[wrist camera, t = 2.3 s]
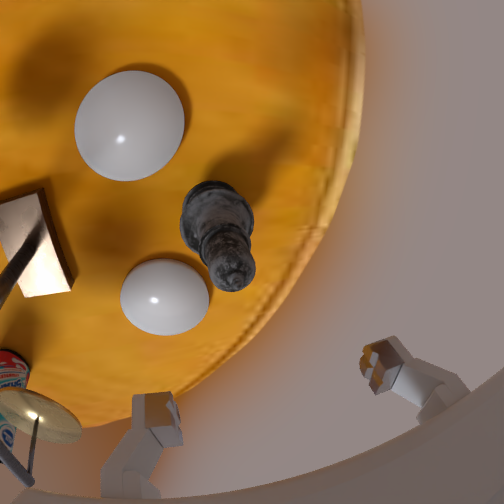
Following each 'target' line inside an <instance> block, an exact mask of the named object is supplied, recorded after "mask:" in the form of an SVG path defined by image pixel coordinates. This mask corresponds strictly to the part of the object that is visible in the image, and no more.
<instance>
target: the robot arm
mask: <svg viewBox="0 0 504 504" xmlns="http://www.w3.org/2000/svg"><path fill="white" fill-rule="evenodd" d="M363 353H364V355H363V356H362V357H361V358H360V362H359V365H360V370H361V373H362V375H363V376H364V378H367V379H369V386H370V387H371V389H372V391H373V392H374V394H375V395H378V394H380V393H383V392H385V391H388V390H390V389H391V390H392V391H394V392H395V393H397V394H399V395H400V396H402V397H404V398H405V399H407V400H409V401H410V402H412V403H414V404H416V405H417V406H419V407H421V408H422V409H421V410H420V412H419V413H418V415H417V417H416V418H417V420H418V422H419V423H420V425H418V426H417V427H415V428H413V429H411V430H409V431H407V432H406V433H403V434H402V435H400V436H398V437H396V438H394V439H392V440H389V441H388V442H385V443H383V444H381V445H379V446H377V447H375V448H372V449H370V450H368V451H365V452H363V453H361V454H359V455H356V456H353V457H351V458H348V459H346V460H343V461H341V462H338V463H335V464H333V465H330V466H327V467H324V468H321V469H318V470H315V471H312V472H309V473H306V474H302V475H299V476H296V477H292V478H288V479H285V480H281V481H277V482H273V483H269V484H265V485H260V486H256V487H251V488H246V489H241V490H235V491H230V492H224V493H217V494H209V495H201V496H193V497H181V498H168V499H167V498H166V499H161V495H160V490H159V489H157V488H156V487H155V486H154V485H153V484H151V483H150V482H149V481H148V479H149V478H150V475H151V474H152V472H153V470H154V468H155V466H156V464H157V462H158V459H159V457H160V455H161V453H162V452H163V448H167V447H175V446H182V445H183V438H182V431H181V429H180V428H179V424H180V423H181V421H180V415H179V410H178V407H177V404H176V402H175V401H173V395H172V393H171V391H168V392H158V393H147V394H136V395H133V398H132V429H131V430H128V431H127V432H126V434H125V435H124V437H123V438H122V440H121V441H120V443H119V444H118V445H117V447H116V448H115V450H114V451H113V453H112V454H111V455H110V457H109V458H108V460H107V461H106V463H105V464H104V466H103V467H102V469H101V498H96V497H84V496H76V495H68V494H61V493H55V492H49V491H44V490H39V489H35V488H26V489H24V490H23V491H22V492H21V493H20V494H19V495H18V496H17V497H16V498H15V499H14V500H13V501H12V503H10V504H504V367H503V368H502V369H501V370H500V371H498V372H497V373H496V374H495V375H493V376H492V377H491V378H490V379H489V380H487V381H486V382H484V383H483V384H482V385H480V386H479V387H478V388H476V389H475V390H474V391H472V392H470V390H469V389H468V388H467V387H466V385H465V384H464V383H463V382H462V380H461V379H460V378H459V377H458V375H457V374H455V373H452V372H449V371H447V370H444V369H442V368H440V367H437V366H434V365H433V364H430V363H428V362H425V361H423V360H421V359H418V358H415V359H414V358H413V357H412V355H411V354H410V353H409V352H408V351H407V349H406V348H405V347H404V346H403V344H402V343H401V342H400V341H399V339H398V338H397V337H396V336H391V337H388V338H386V339H382V340H379V341H376V342H374V343H371V344H368V345H366V346H365V347H364V348H363Z"/></svg>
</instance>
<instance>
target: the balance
mask: <svg viewBox="0 0 504 504" xmlns="http://www.w3.org/2000/svg"><path fill="white" fill-rule="evenodd" d="M0 241H1V244H2V246H3V249H4V251H5V254H6V256H7V259H8V261H9V263H8V264H7V266H6V267H5V268H4V270H3V271H2V273H1V274H0V309H1V308H2V306H3V304H4V302H5V301H6V299H7V297H8V296H9V294H10V292H11V291H12V289H13V287H14V286H15V284H16V283H17V282H18V284H19V286H20V288H21V290H22V292H23V294H24V297H25V298H26V297H33V296H39V295H46V294H52V293H59V292H65V291H71V288H72V286H73V284H74V280H73V278H72V275H71V273H70V270H69V267H68V265H67V262H66V259H65V257H64V254H63V251H62V248H61V245H60V243H59V240H58V237H57V233H56V230H55V227H54V224H53V221H52V217H51V214H50V211H49V207H48V204H47V200H46V196H45V192H44V188H41V189H38V190H34V191H31V192H28V193H25V194H22V195H18V196H15V197H12V198H9V199H6V200H3V201H0ZM0 413H1V414H2V415H3V417H4V418H5V419H6V420H8V421H9V422H10V423H11V424H12V425H14V426H15V427H17V428H18V429H20V430H21V431H23V432H25V433H27V434H29V435H31V436H32V440H31V445H30V452H29V460H28V468H27V470H26V469H25V468H24V467H23V466H22V465H21V464H20V462H19V461H18V460H17V459H16V458H15V456H14V455H13V454H12V453H11V452H10V450H9V449H8V448H7V447H6V445H5V444H4V443H3V441H2V440H1V439H0V460H1V461H2V462H3V463H4V465H5V466H6V467H7V468H8V469H9V470H10V471H11V472H12V473H13V475H14V476H15V477H16V478H18V480H19V481H20V482H21V483H22V484H23V485H24V486H25V487H31V486H33V485H34V483H35V480H34V478H33V477H32V467H33V459H34V450H35V444H36V438H39V439H42V440H45V441H49V442H54V443H72V442H75V441H78V440H79V439H80V437H81V431H82V426H81V423H80V422H79V420H78V419H77V417H76V416H75V415H74V414H73V413H71V412H70V411H69V410H68V409H66V408H65V407H64V406H62V405H61V404H59V403H57V402H56V401H54V400H52V399H50V398H48V397H46V396H44V395H41V394H39V393H37V392H34V391H31V390H28V389H24V388H19V387H3V388H1V389H0Z"/></svg>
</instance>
